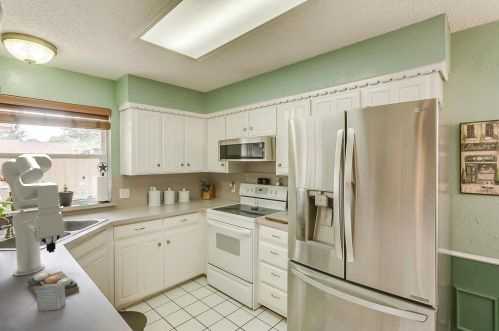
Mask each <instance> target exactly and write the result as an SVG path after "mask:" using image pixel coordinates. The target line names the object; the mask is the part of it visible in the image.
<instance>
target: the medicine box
mask: <svg viewBox="0 0 499 331" xmlns="http://www.w3.org/2000/svg"><path fill="white" fill-rule="evenodd" d="M36 293H37V297H36V306H37V312H44V311H58V310H60V309H61V308H62V307H63V306H65V305H66V296H65V287H64V283H59V284H44V285H43V286H41V287H40V288H38V289H37V290H36Z"/></svg>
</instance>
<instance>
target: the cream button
mask: <svg viewBox="0 0 499 331" xmlns="http://www.w3.org/2000/svg"><path fill="white" fill-rule="evenodd" d="M48 273H49V272H40V273H37V274H36V275H34V276H33V278H34V282H38V281H41V280H45V279H46V278H48Z"/></svg>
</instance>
